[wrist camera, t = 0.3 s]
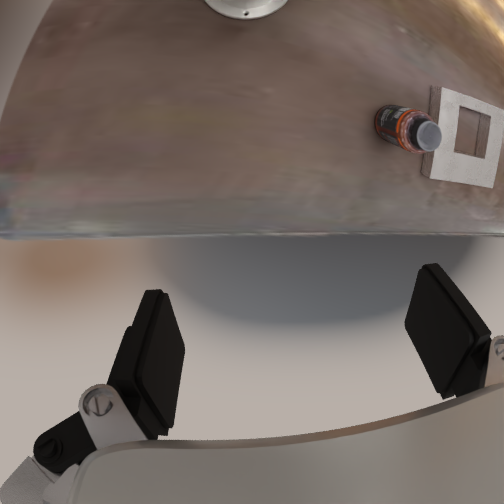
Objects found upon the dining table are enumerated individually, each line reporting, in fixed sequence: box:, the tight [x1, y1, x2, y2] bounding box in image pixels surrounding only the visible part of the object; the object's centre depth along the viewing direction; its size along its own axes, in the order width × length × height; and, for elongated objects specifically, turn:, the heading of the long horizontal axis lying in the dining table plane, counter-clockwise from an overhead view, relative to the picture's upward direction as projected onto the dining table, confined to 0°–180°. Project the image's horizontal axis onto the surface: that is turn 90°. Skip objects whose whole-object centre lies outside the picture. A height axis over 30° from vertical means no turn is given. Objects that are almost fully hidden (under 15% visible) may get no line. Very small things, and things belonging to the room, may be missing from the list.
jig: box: [421, 86, 504, 188], centre depth 39 cm, size 15×16×3 cm
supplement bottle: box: [375, 105, 442, 154], centre depth 35 cm, size 6×6×11 cm
